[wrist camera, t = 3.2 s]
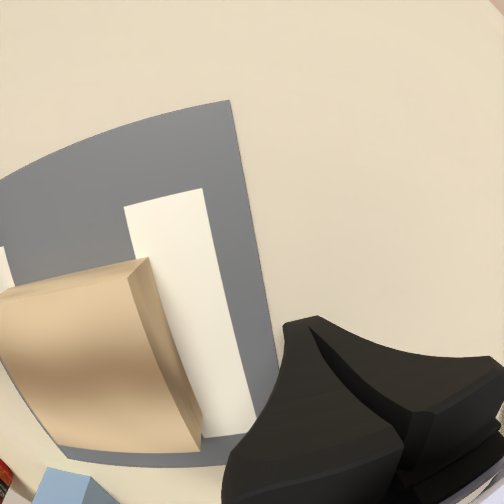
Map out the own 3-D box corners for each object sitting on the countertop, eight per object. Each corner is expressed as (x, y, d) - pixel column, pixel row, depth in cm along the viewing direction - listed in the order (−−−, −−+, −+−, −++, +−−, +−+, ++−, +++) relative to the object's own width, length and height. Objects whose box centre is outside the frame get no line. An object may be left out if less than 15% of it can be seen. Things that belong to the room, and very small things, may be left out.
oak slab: (202, 413, 12) (200, 451, 10) (72, 415, 12) (57, 444, 9) (148, 256, 10) (126, 277, 8) (9, 287, 10) (-22, 307, 7)
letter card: (293, 452, 14) (293, 453, 13) (68, 457, 13) (68, 458, 13) (229, 100, 9) (229, 99, 9) (-47, 210, 8) (-48, 210, 8)
